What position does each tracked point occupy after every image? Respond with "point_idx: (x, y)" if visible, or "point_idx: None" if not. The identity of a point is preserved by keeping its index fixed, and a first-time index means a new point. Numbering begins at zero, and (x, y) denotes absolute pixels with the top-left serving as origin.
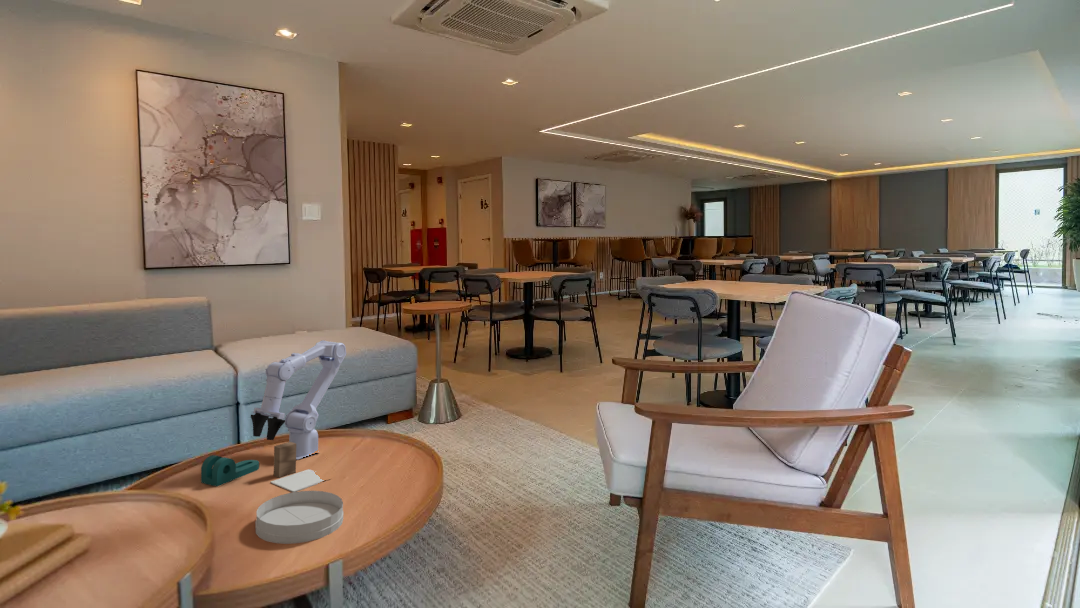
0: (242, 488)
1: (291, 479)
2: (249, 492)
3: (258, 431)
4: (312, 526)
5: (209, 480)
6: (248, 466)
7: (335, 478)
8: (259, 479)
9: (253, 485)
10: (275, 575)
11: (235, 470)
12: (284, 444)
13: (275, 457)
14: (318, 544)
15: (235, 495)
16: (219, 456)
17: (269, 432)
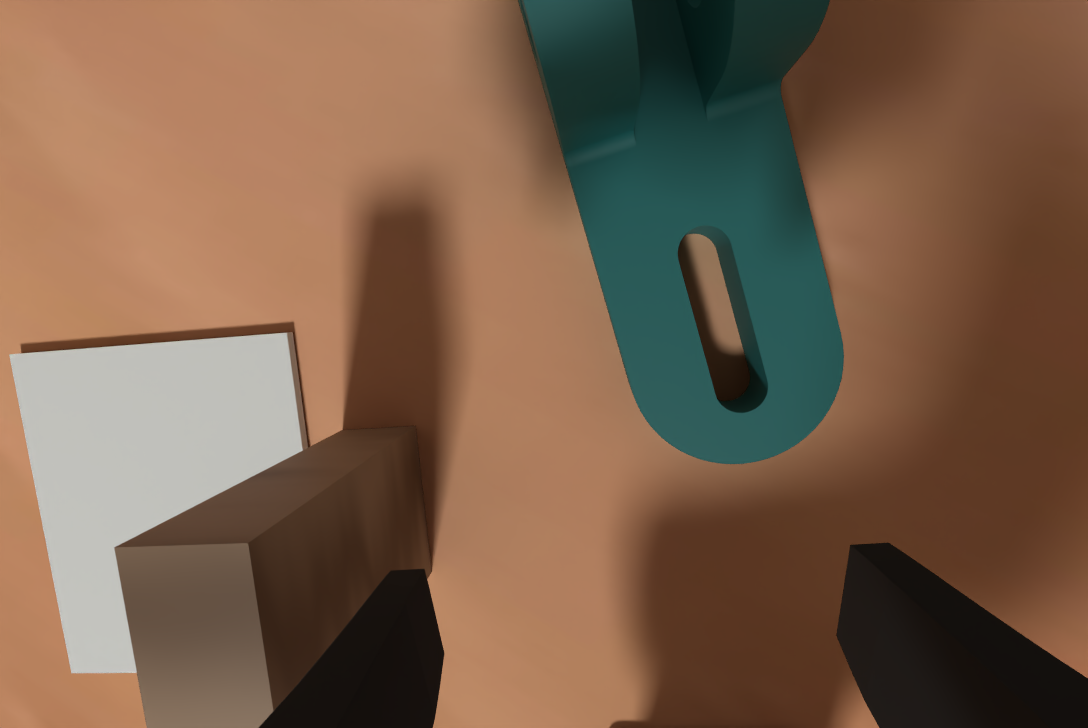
0: (331, 120)
1: (224, 465)
2: (220, 124)
3: (904, 690)
4: None
5: None
6: (642, 324)
7: (76, 686)
8: (420, 308)
9: (332, 213)
10: None
11: (563, 147)
12: (226, 680)
13: (309, 483)
14: None
15: (233, 15)
16: None
17: (290, 698)
